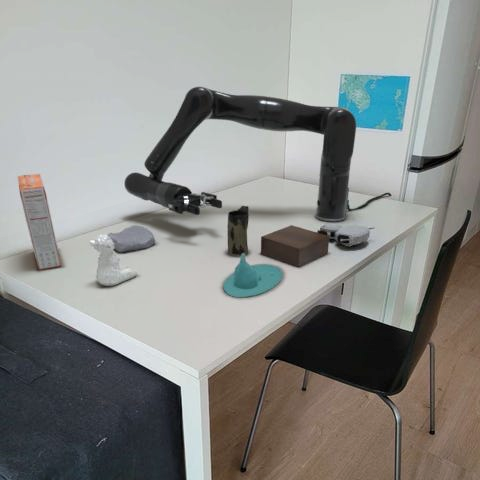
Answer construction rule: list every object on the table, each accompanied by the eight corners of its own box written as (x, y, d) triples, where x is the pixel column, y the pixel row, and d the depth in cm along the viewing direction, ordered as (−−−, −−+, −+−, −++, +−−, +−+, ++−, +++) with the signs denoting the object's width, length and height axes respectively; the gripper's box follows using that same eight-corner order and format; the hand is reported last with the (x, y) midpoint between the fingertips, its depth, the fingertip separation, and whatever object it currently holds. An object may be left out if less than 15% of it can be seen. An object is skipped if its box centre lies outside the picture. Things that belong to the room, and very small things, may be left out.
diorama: (293, 270, 122) (294, 237, 118) (256, 302, 107) (257, 266, 102) (250, 261, 127) (250, 230, 123) (210, 291, 112) (209, 256, 108)
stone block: (159, 249, 139) (139, 234, 144) (159, 235, 136) (138, 220, 141) (123, 262, 132) (104, 246, 137) (123, 247, 129) (102, 231, 134)
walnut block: (290, 241, 140) (291, 225, 137) (327, 253, 132) (329, 235, 129) (260, 254, 131) (260, 236, 129) (298, 267, 124) (299, 248, 121)
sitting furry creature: (138, 275, 120) (132, 228, 114) (123, 290, 112) (116, 241, 106) (103, 271, 121) (95, 226, 115) (86, 286, 114) (77, 238, 108)
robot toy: (308, 243, 140) (354, 252, 131) (308, 228, 138) (355, 236, 129) (331, 232, 148) (376, 240, 139) (331, 218, 146) (377, 225, 137)
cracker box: (34, 252, 133) (16, 175, 123) (57, 248, 135) (41, 172, 125) (37, 271, 122) (17, 188, 112) (62, 267, 124) (45, 185, 114)
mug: (241, 257, 129) (241, 214, 123) (223, 254, 131) (222, 211, 125) (255, 248, 135) (255, 206, 129) (238, 245, 137) (237, 203, 131)
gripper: (153, 188, 139) (190, 199, 129) (190, 179, 147) (228, 189, 138) (155, 213, 142) (191, 226, 132) (192, 204, 151) (228, 215, 141)
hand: (210, 207), depth 135 cm, fingers open, 8 cm apart
